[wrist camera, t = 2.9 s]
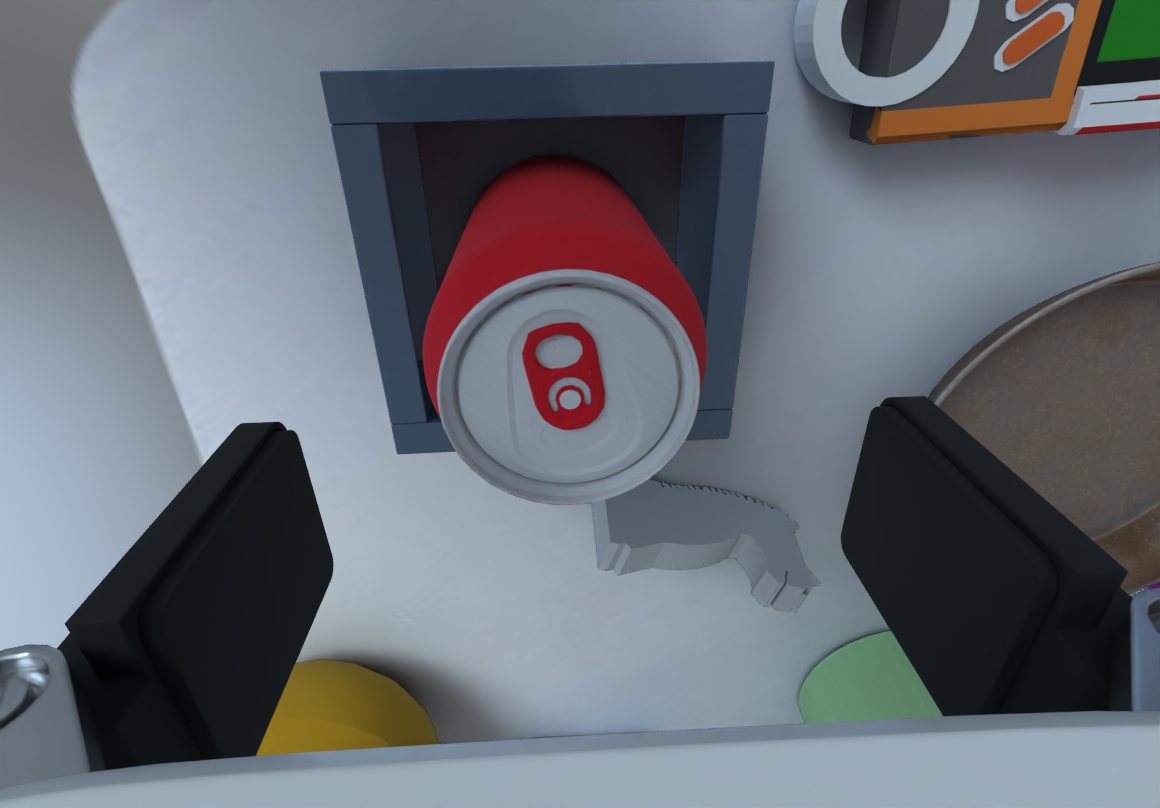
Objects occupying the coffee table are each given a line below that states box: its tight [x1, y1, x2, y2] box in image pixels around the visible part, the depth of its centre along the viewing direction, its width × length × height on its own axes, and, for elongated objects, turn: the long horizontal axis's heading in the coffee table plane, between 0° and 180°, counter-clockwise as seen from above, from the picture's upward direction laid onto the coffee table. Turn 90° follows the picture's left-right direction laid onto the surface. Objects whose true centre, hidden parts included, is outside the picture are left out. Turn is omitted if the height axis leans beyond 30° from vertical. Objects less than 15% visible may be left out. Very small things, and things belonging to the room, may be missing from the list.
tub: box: [320, 60, 774, 454], centre depth 20 cm, size 11×11×5 cm
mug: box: [798, 631, 943, 724], centre depth 32 cm, size 13×10×12 cm
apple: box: [256, 659, 440, 756], centre depth 29 cm, size 13×13×11 cm
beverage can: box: [423, 155, 707, 505], centre depth 17 cm, size 6×6×12 cm
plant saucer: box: [928, 262, 1160, 594], centre depth 26 cm, size 18×18×3 cm
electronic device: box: [794, 0, 1160, 145], centre depth 18 cm, size 7×3×15 cm
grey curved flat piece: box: [592, 479, 822, 612], centre depth 26 cm, size 6×1×10 cm
